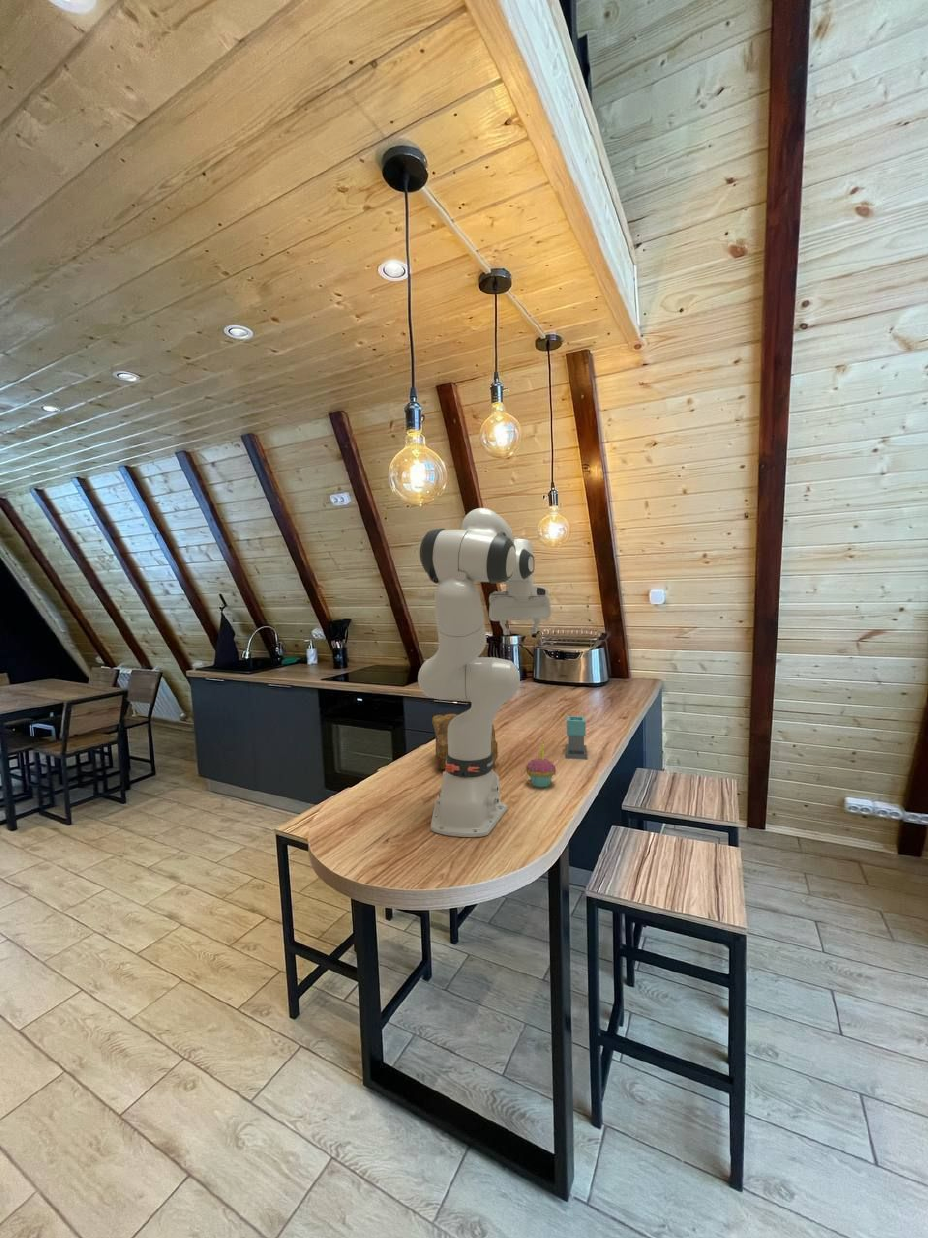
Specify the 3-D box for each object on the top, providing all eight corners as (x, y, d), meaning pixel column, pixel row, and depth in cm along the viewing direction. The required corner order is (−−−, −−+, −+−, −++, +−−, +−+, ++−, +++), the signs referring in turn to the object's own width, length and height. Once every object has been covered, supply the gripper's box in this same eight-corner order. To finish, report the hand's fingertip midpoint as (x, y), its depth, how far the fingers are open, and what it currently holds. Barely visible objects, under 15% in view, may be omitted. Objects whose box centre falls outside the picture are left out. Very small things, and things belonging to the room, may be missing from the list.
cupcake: (531, 776, 146) (531, 737, 145) (559, 781, 142) (559, 740, 142) (522, 787, 139) (521, 745, 138) (551, 792, 135) (551, 749, 134)
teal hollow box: (585, 736, 162) (585, 721, 161) (566, 735, 163) (566, 720, 163) (585, 731, 167) (585, 716, 167) (567, 730, 169) (567, 715, 168)
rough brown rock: (412, 769, 156) (410, 724, 153) (441, 750, 170) (440, 708, 167) (475, 786, 143) (474, 738, 141) (501, 764, 157) (500, 719, 155)
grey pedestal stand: (587, 759, 160) (587, 724, 159) (565, 758, 162) (565, 723, 161) (586, 746, 173) (586, 714, 172) (565, 745, 174) (565, 713, 173)
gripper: (492, 591, 150) (493, 636, 151) (553, 589, 156) (553, 633, 157) (485, 591, 156) (486, 634, 157) (544, 589, 162) (544, 631, 163)
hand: (520, 633), depth 157 cm, fingers open, 8 cm apart
